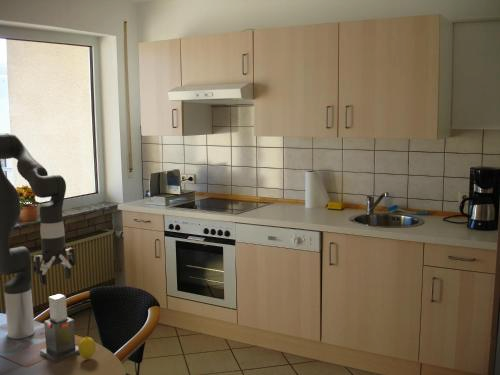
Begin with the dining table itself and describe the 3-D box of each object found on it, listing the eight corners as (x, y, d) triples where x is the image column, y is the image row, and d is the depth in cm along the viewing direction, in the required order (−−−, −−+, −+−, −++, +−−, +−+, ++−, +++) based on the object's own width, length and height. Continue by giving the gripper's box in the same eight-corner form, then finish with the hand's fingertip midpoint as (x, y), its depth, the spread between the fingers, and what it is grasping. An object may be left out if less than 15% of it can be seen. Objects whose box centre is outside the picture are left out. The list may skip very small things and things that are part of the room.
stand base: (40, 354, 187) (37, 321, 185) (66, 344, 194) (64, 312, 193) (55, 362, 180) (52, 328, 179) (82, 352, 188) (79, 319, 186)
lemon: (91, 363, 179) (90, 340, 178) (76, 362, 181) (74, 339, 179) (99, 356, 185) (97, 333, 184) (84, 355, 186) (82, 332, 185)
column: (52, 349, 187) (48, 296, 184) (63, 345, 190) (59, 293, 187) (58, 352, 184) (54, 299, 181) (69, 348, 187) (66, 296, 185)
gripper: (66, 229, 189) (69, 274, 191) (26, 237, 179) (30, 284, 181) (77, 232, 184) (80, 278, 186) (38, 240, 174) (41, 289, 176)
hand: (56, 281), depth 184 cm, fingers open, 8 cm apart
